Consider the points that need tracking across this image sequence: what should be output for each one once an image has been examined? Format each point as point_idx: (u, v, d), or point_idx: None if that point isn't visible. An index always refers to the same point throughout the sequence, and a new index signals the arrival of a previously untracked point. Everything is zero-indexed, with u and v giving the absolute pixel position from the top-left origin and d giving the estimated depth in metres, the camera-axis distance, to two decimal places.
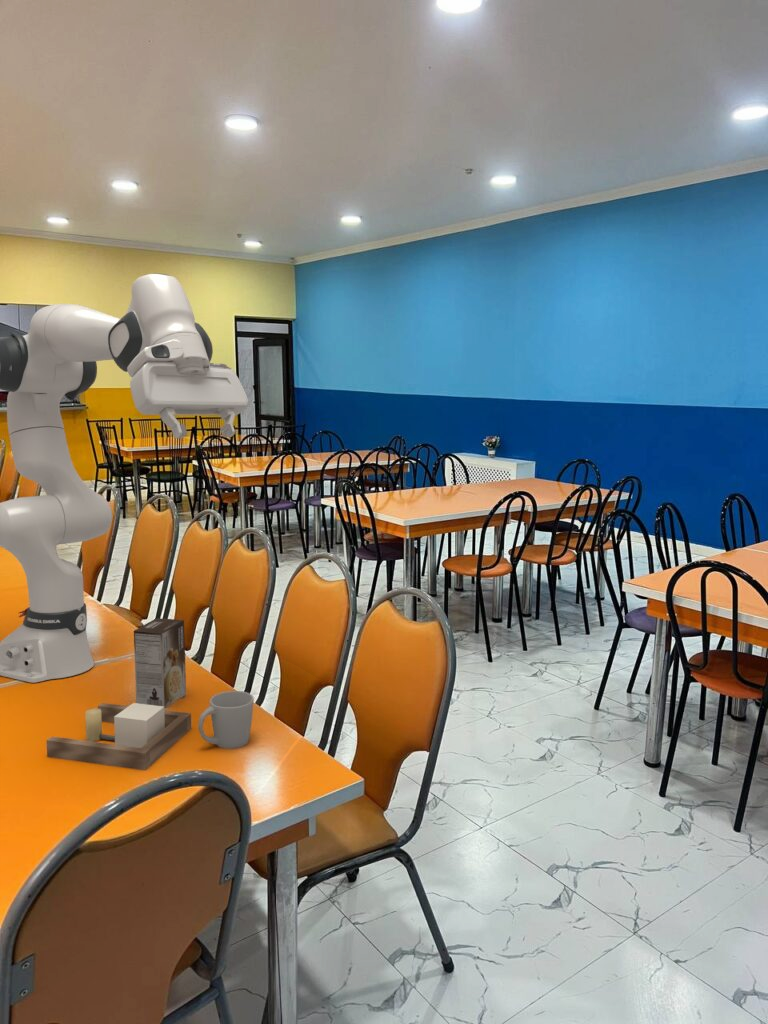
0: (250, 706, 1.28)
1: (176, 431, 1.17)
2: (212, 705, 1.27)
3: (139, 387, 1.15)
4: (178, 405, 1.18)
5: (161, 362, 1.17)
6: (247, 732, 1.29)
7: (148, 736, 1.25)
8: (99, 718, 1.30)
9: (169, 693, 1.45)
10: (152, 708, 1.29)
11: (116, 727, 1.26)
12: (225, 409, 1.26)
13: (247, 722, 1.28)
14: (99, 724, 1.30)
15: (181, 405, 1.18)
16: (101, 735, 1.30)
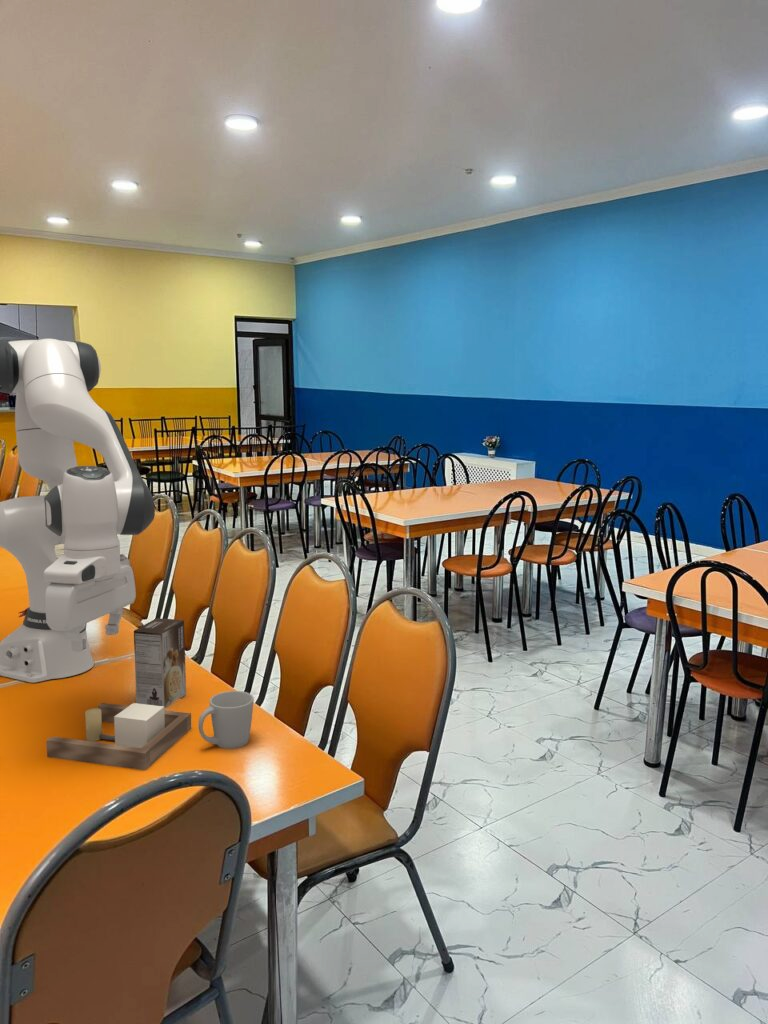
0: (250, 706, 1.28)
1: (77, 646, 1.22)
2: (212, 705, 1.27)
3: (59, 609, 1.17)
4: (86, 622, 1.22)
5: (85, 583, 1.19)
6: (247, 732, 1.29)
7: (148, 736, 1.25)
8: (99, 718, 1.30)
9: (169, 693, 1.45)
10: (152, 708, 1.29)
11: (116, 727, 1.26)
12: None
13: (247, 722, 1.28)
14: (99, 724, 1.30)
15: (88, 621, 1.22)
16: (101, 735, 1.30)
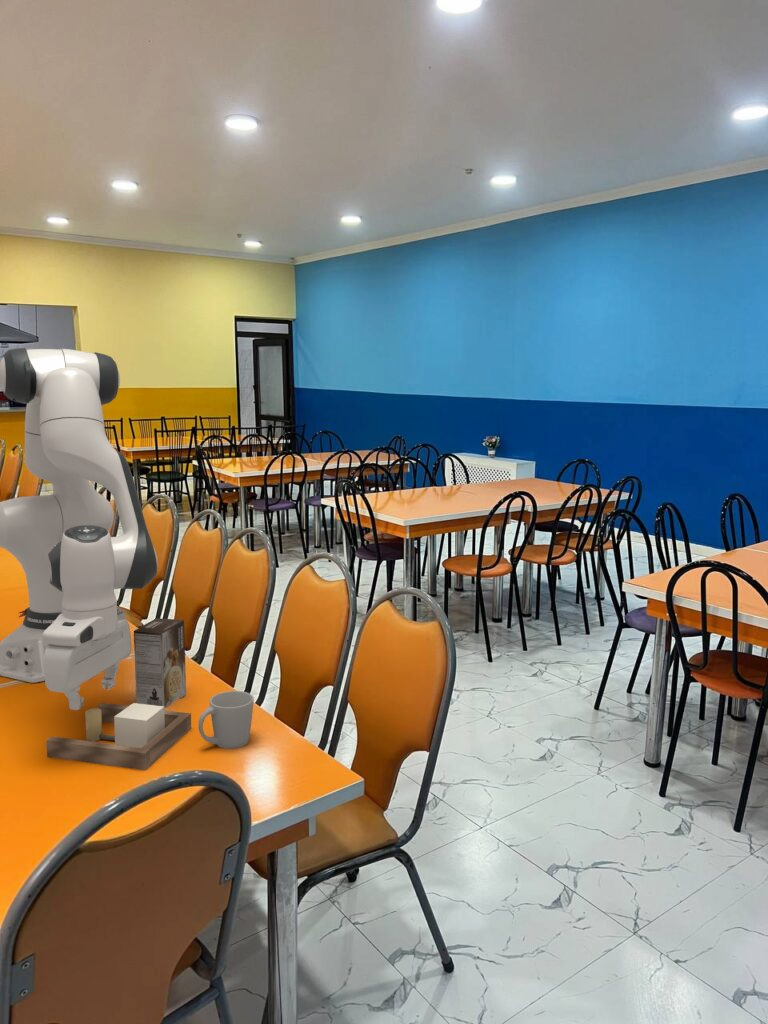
0: (250, 706, 1.28)
1: (75, 705, 1.24)
2: (212, 705, 1.27)
3: (58, 671, 1.19)
4: (84, 681, 1.24)
5: (83, 644, 1.21)
6: (247, 732, 1.29)
7: (148, 736, 1.25)
8: (99, 718, 1.30)
9: (169, 693, 1.45)
10: (152, 708, 1.29)
11: (116, 727, 1.26)
12: None
13: (247, 722, 1.28)
14: (99, 724, 1.30)
15: (86, 680, 1.25)
16: (101, 735, 1.30)
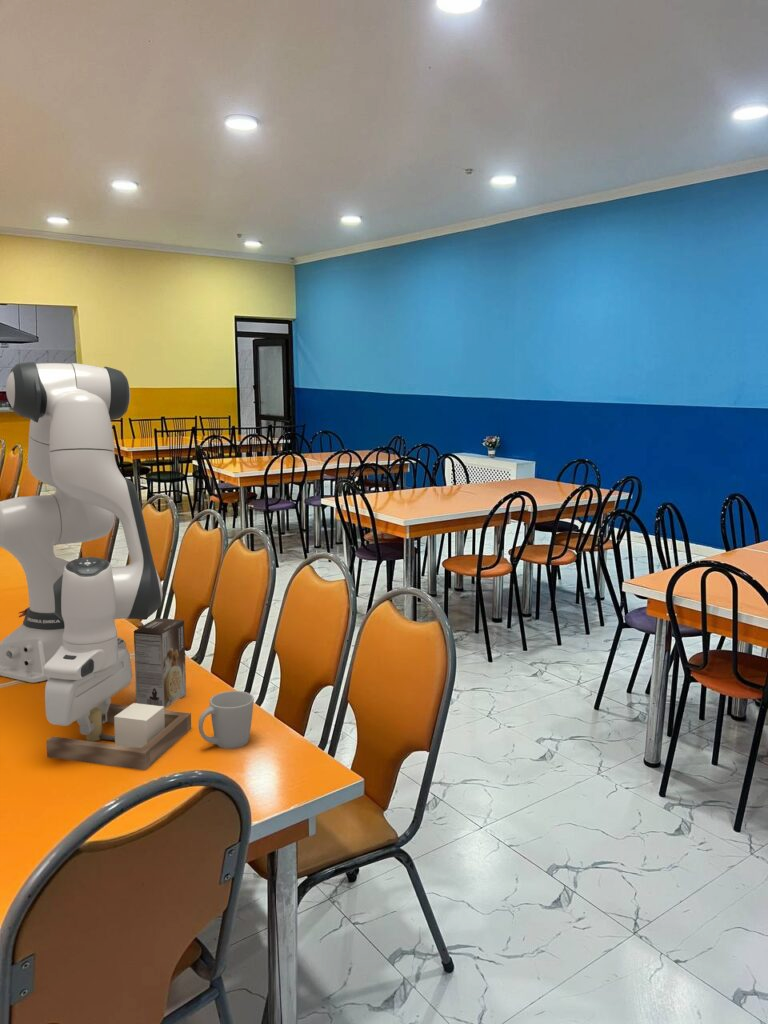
0: (250, 706, 1.28)
1: (85, 730, 1.28)
2: (212, 705, 1.27)
3: (58, 705, 1.19)
4: (85, 713, 1.25)
5: (84, 677, 1.22)
6: (247, 732, 1.29)
7: (148, 736, 1.25)
8: (99, 718, 1.30)
9: (169, 693, 1.45)
10: (151, 708, 1.29)
11: (116, 727, 1.26)
12: None
13: (247, 722, 1.28)
14: (99, 724, 1.30)
15: (87, 712, 1.25)
16: (101, 735, 1.30)
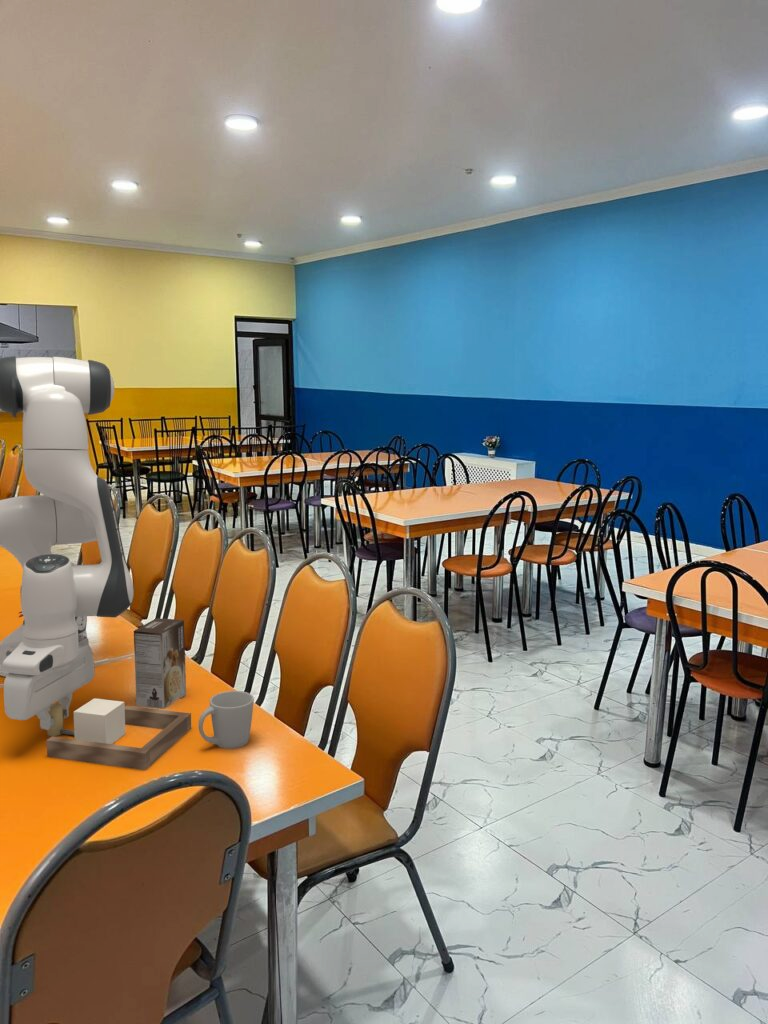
0: (250, 706, 1.28)
1: (45, 725, 1.29)
2: (212, 705, 1.27)
3: (17, 700, 1.21)
4: (44, 708, 1.27)
5: (43, 672, 1.24)
6: (247, 732, 1.29)
7: (107, 730, 1.27)
8: (60, 713, 1.31)
9: (169, 693, 1.45)
10: (111, 703, 1.31)
11: (75, 722, 1.27)
12: None
13: (247, 722, 1.28)
14: (60, 719, 1.31)
15: (47, 707, 1.27)
16: (62, 730, 1.32)
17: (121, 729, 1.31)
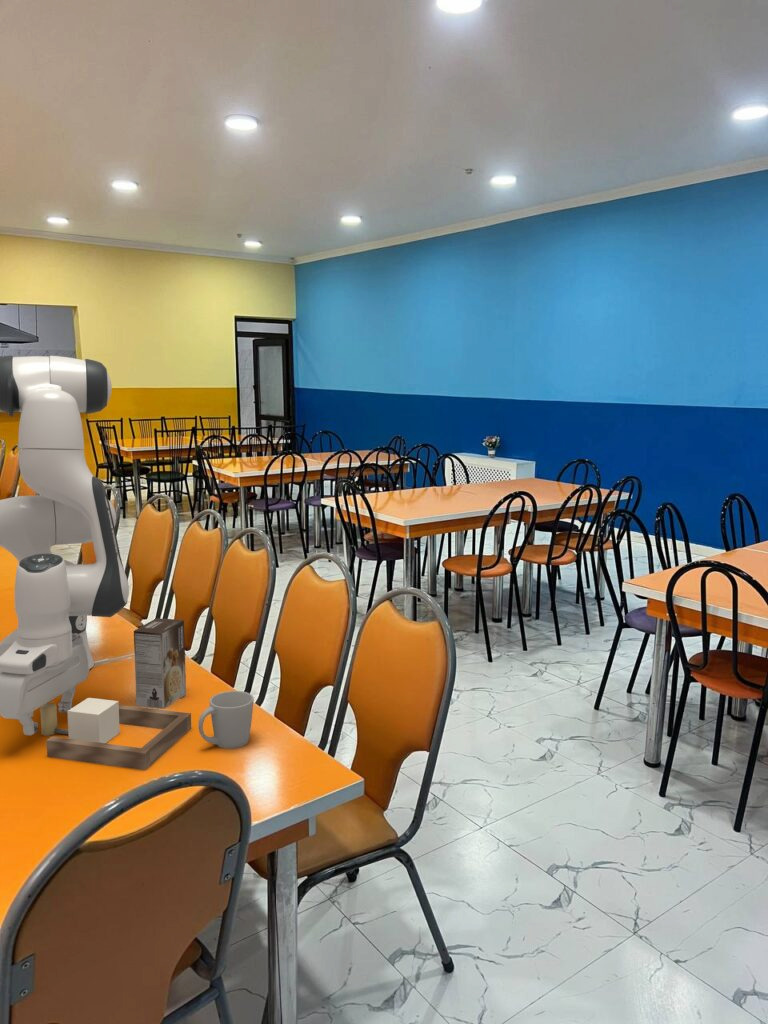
0: (250, 706, 1.28)
1: (28, 730, 1.27)
2: (212, 705, 1.27)
3: (10, 699, 1.21)
4: (38, 707, 1.27)
5: (36, 671, 1.24)
6: (247, 732, 1.29)
7: (101, 730, 1.27)
8: (54, 712, 1.31)
9: (169, 693, 1.45)
10: (105, 703, 1.31)
11: (69, 721, 1.28)
12: None
13: (247, 722, 1.28)
14: (54, 719, 1.32)
15: (40, 706, 1.27)
16: (56, 729, 1.32)
17: (115, 728, 1.32)
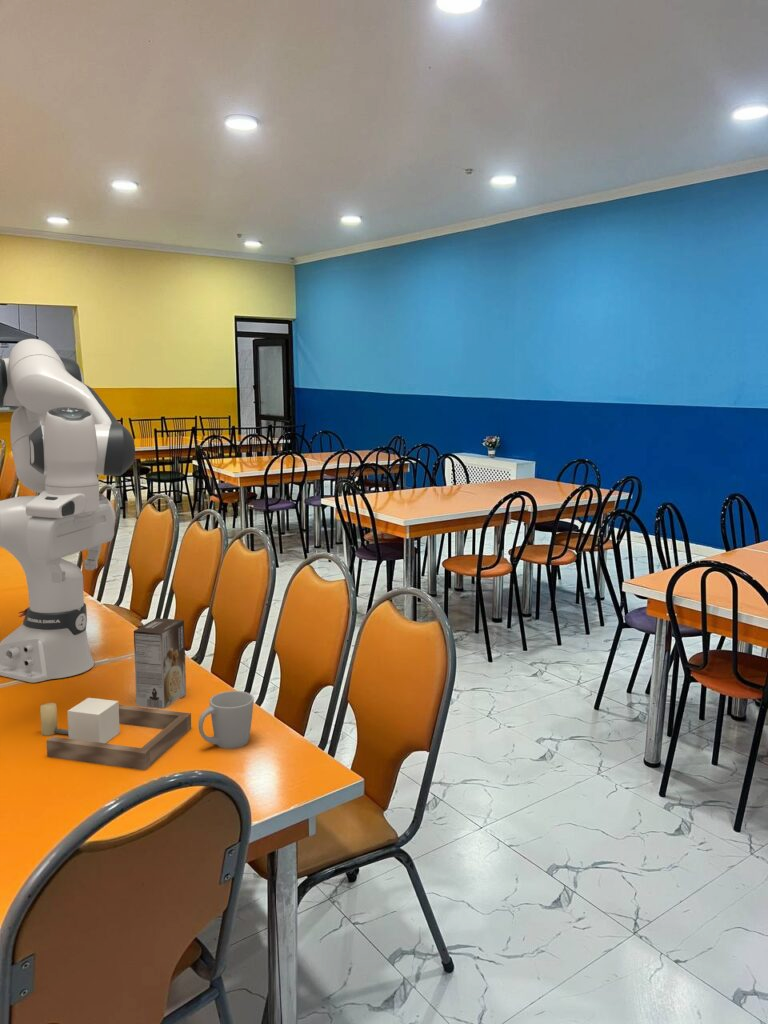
0: (250, 706, 1.28)
1: (56, 578, 1.29)
2: (212, 705, 1.27)
3: (39, 541, 1.24)
4: (66, 555, 1.29)
5: (65, 518, 1.26)
6: (247, 732, 1.29)
7: (101, 730, 1.27)
8: (54, 712, 1.31)
9: (169, 693, 1.45)
10: (105, 703, 1.31)
11: (69, 721, 1.28)
12: None
13: (247, 722, 1.28)
14: (54, 719, 1.32)
15: None
16: (56, 729, 1.32)
17: (115, 728, 1.32)
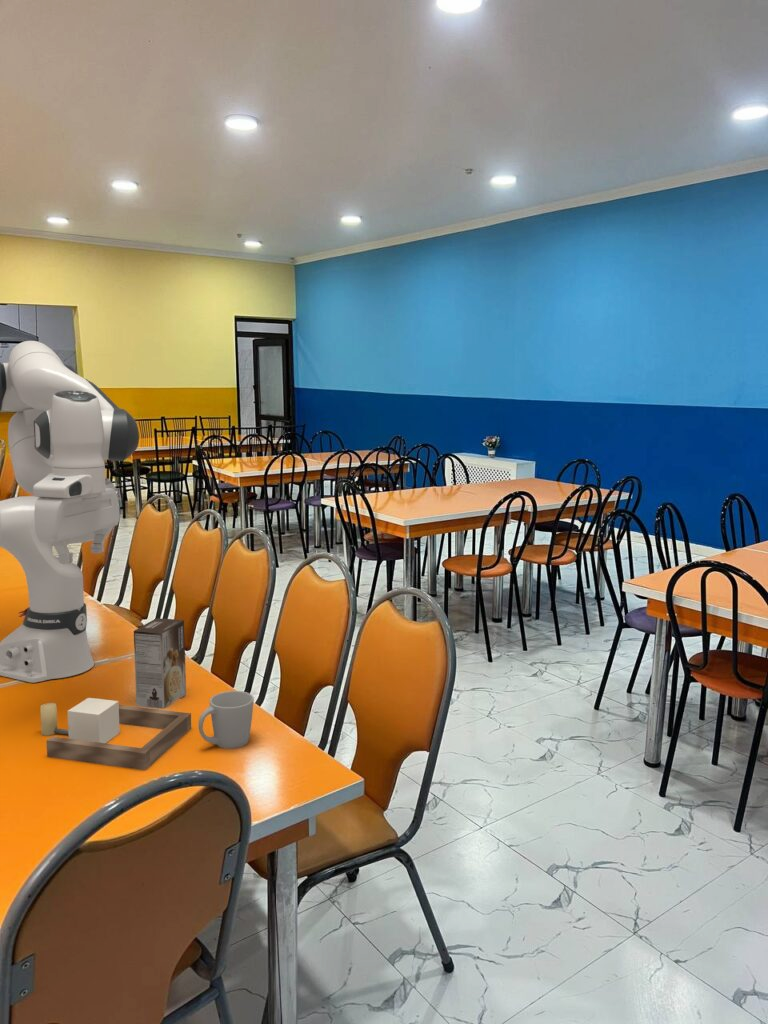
0: (250, 706, 1.28)
1: (64, 559, 1.30)
2: (212, 705, 1.27)
3: (47, 521, 1.24)
4: (73, 536, 1.30)
5: (72, 498, 1.27)
6: (247, 732, 1.29)
7: (101, 730, 1.27)
8: (54, 712, 1.31)
9: (169, 693, 1.45)
10: (105, 703, 1.31)
11: (69, 721, 1.28)
12: (101, 528, 1.39)
13: (247, 722, 1.28)
14: (54, 719, 1.32)
15: (75, 536, 1.30)
16: (56, 729, 1.32)
17: (115, 728, 1.32)
